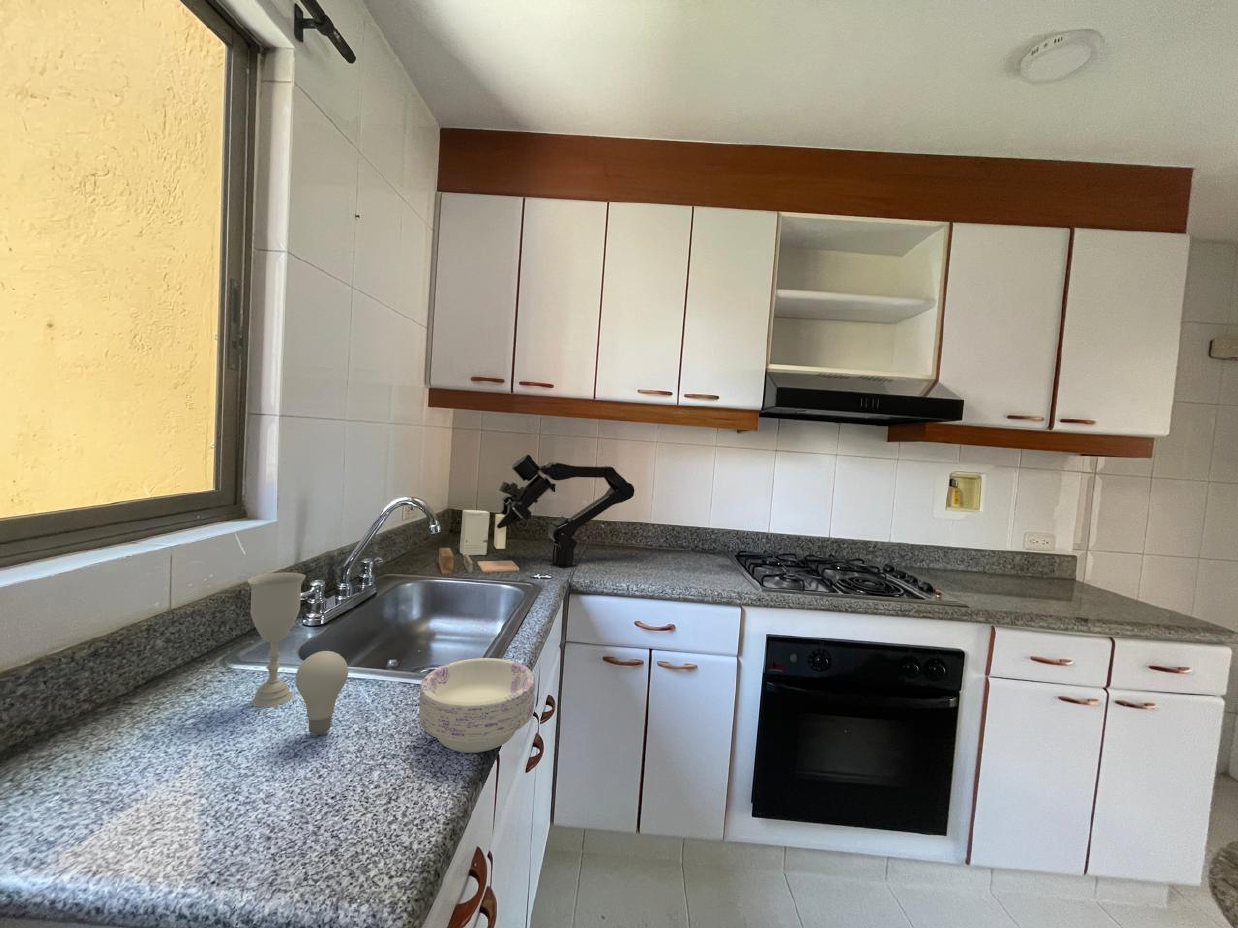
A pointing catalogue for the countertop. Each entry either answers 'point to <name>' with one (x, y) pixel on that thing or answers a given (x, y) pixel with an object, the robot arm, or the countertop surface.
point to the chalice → (274, 626)
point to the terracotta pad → (498, 566)
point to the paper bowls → (476, 703)
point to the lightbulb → (321, 687)
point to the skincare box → (474, 532)
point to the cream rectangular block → (499, 533)
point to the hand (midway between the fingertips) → (496, 526)
